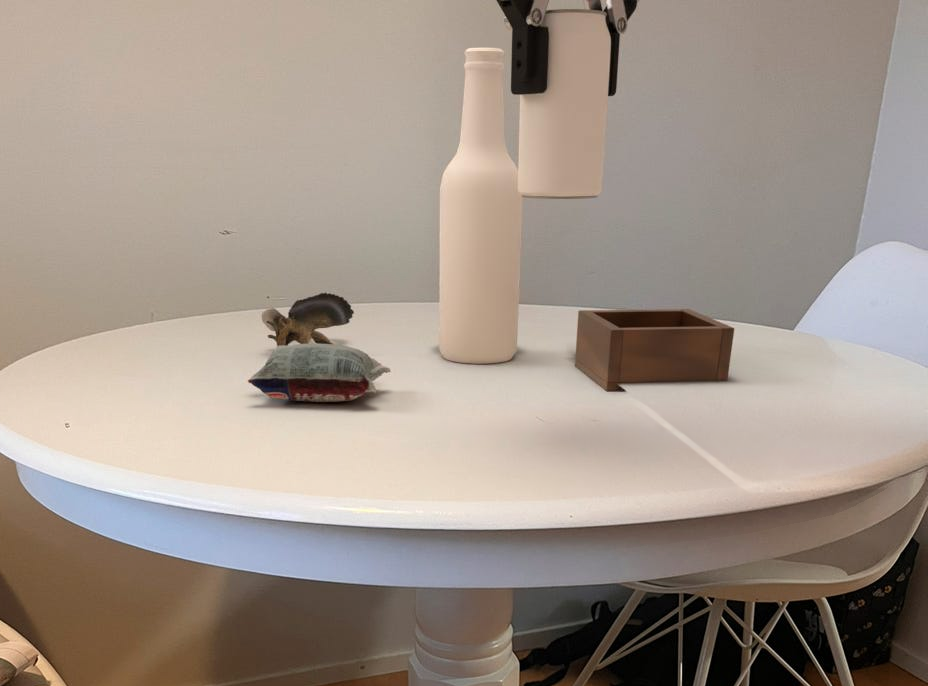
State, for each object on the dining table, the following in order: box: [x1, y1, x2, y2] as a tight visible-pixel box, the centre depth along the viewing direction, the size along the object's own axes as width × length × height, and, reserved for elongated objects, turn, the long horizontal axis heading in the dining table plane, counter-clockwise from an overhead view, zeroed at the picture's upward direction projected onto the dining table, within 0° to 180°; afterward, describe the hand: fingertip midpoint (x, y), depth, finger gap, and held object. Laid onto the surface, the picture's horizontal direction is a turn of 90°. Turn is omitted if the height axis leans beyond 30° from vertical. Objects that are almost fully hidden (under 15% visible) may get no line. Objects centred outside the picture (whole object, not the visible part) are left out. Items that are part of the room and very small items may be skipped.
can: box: [517, 8, 611, 200], centre depth 73 cm, size 6×6×12 cm
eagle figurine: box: [260, 292, 355, 348], centre depth 111 cm, size 8×7×9 cm
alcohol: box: [438, 47, 524, 365], centre depth 104 cm, size 9×9×30 cm
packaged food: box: [247, 343, 391, 403], centre depth 91 cm, size 9×12×5 cm
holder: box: [574, 308, 735, 392], centre depth 101 cm, size 12×12×6 cm
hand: (564, 92), depth 72 cm, fingers closed on can, 6 cm apart
